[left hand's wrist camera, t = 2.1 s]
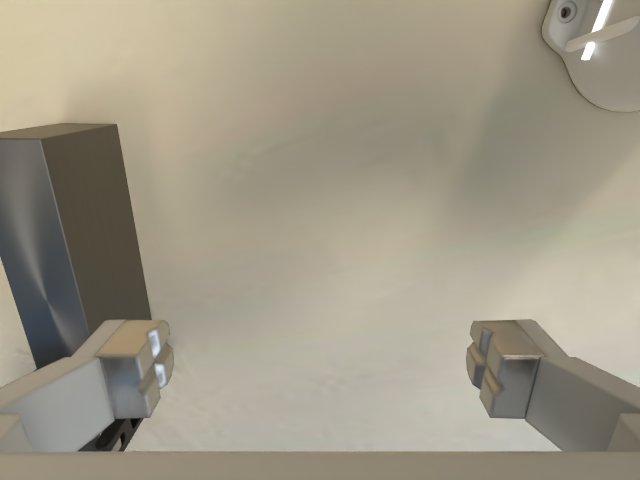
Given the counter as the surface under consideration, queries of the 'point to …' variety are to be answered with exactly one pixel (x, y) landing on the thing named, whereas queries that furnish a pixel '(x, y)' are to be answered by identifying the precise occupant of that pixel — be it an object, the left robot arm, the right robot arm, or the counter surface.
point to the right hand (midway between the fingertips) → (94, 369)
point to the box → (68, 235)
